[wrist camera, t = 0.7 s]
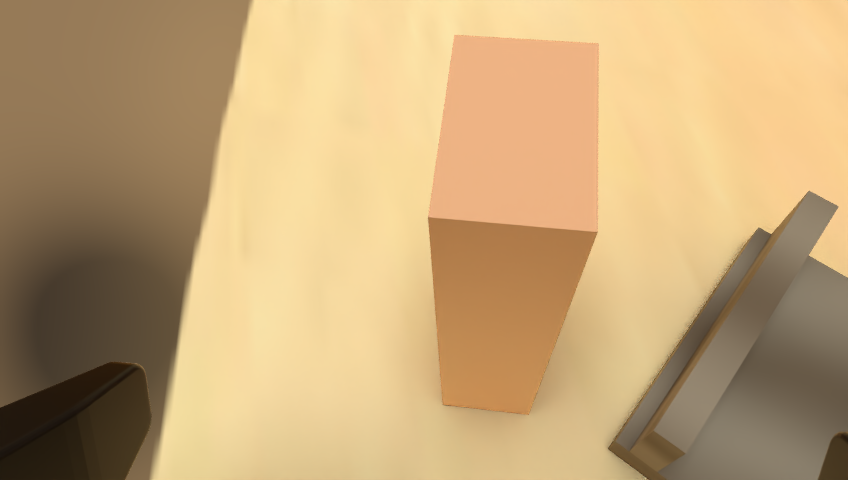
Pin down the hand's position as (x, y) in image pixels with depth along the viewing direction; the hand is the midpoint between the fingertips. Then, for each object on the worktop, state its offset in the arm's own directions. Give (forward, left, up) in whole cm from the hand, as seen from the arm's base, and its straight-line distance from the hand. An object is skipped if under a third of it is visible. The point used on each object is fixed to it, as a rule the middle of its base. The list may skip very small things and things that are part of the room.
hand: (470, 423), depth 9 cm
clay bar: (+6, -1, -14) cm, 16 cm away
